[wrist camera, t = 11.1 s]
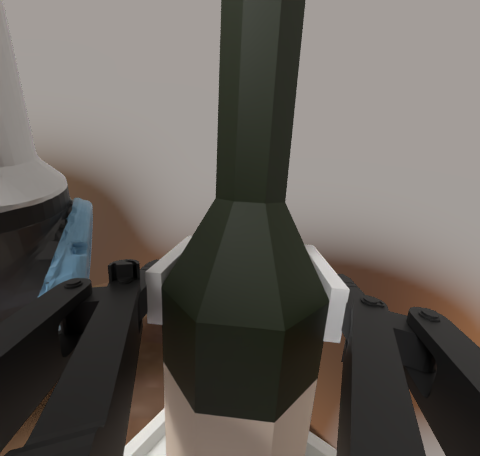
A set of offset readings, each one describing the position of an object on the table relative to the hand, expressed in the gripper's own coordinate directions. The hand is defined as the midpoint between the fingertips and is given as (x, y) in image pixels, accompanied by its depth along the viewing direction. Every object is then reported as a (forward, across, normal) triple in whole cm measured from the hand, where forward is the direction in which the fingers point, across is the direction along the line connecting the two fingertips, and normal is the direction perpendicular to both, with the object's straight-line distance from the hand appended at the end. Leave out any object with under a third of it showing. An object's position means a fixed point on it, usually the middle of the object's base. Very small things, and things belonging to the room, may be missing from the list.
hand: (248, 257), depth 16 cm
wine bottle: (-5, 0, -16) cm, 17 cm away
